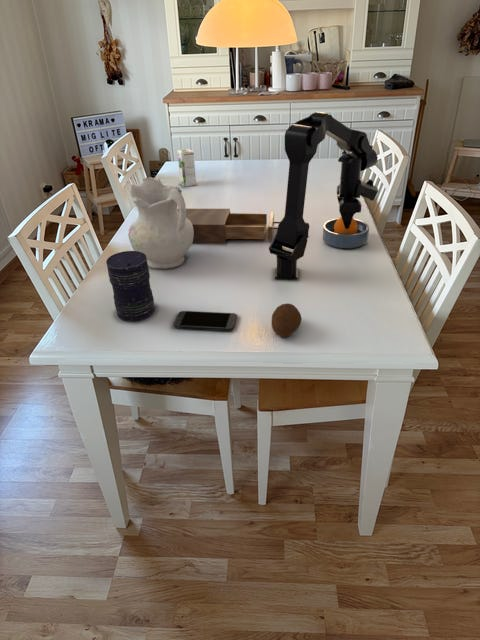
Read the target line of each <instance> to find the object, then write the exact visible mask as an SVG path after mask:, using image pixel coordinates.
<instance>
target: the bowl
mask: <svg viewBox="0 0 480 640" xmlns="http://www.w3.org/2000/svg"><path fill="white" fill-rule="evenodd" d="M339 218H340V217H339ZM339 218H338V217H337V218H333V219H329V220H327V221H325V222H324V224H323V225H322V241H323V242H324V243H325V244H327V245H329V246H332V247H334V248H338V249H354V248H359V247H361V246H364V245H365V244H367V243H368V240H369V236H370V235H369V233H370V226H369V224H368V223H367V222H365V221H363V220H361V219H357V218H354V219H355V221H356V222H357V225H358V230H357V233H356V234H352V235H343V234H337V233H335V232H334V225H335V223H336V221H337V220H338V219H339Z"/></svg>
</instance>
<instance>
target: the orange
mask: <svg viewBox="0 0 480 640" xmlns="http://www.w3.org/2000/svg"><path fill="white" fill-rule="evenodd" d="M337 219H338V218H337ZM355 219H356V218H354V217H353V218H352V221H351V224H350V226H349V228H348V229H346V228H345V226H344V223H343V220H342V217H341V216H340V217H339V219H338V220H337V221H336V223H335V225H334V232H335V233H337V234H343V235H352V234H356V233H357V230H358V225H357V222H356V221H355Z"/></svg>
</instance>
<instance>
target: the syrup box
mask: <svg viewBox="0 0 480 640" xmlns="http://www.w3.org/2000/svg"><path fill="white" fill-rule="evenodd" d="M194 154H195V151H193V150H192V149H190V148H182V149H178V150H177V160H178V162H177V163H178V172H179V182H180V185H182V186H183V187H184V188H187V187H192V186H196V185H197V176H196V163H195V155H194Z"/></svg>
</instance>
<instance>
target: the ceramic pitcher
mask: <svg viewBox="0 0 480 640" xmlns="http://www.w3.org/2000/svg"><path fill="white" fill-rule="evenodd" d="M182 193H183V191H182V190H181V188H180V187H175V186H174V185H173V186H172V185H164V183H162V181H161V179H160V178H159V179H157V178H155V177H152V176H149V177H147V176H146V177H145V178H142V181H141V183H140V184H139V185H136V184H134V183H133V184H129V194H130V197H131V200H132V203H134V204H135V206H136V208H137V211H138V217H137V218H136V220H135V221H134V222H132V224H131V225H130V226H129V228H128V233H127V236H128V240H129V243H130V245H131V248H132V250H133V251H138V252H142V253H144V254H145V255H146V257H147V263H148V267H149V268H151V269H157V270H158V269H163V270H164V269H165V270H166V269H174V268H176V267H178V266H180V265H182V264H184V262H185V259H186V257H185V256H184V255H186V253H187V252H189V250H190V249H191V247H192V245H193V244H194V243H193V235H194V230H193V225H192V223H191V221H190V220H189V219H188V218H186V209H187V208H186V202H185V198H184V195H183V194H182ZM177 209H179V212H178V210H177Z"/></svg>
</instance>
